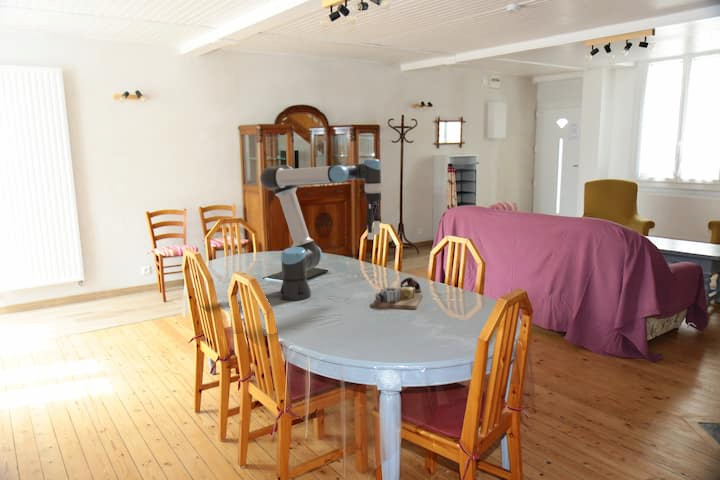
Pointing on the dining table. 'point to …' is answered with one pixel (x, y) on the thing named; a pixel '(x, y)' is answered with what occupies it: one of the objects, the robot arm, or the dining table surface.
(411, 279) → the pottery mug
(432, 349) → the dining table surface
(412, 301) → the carrier plate
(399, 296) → the planet gear
